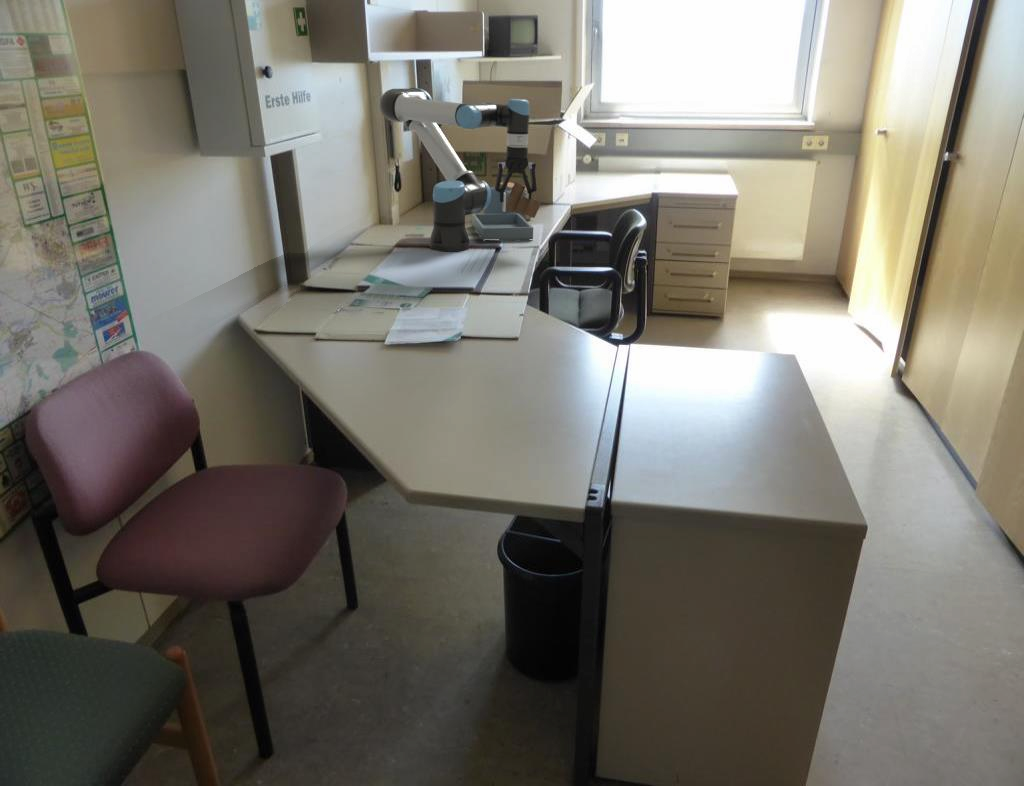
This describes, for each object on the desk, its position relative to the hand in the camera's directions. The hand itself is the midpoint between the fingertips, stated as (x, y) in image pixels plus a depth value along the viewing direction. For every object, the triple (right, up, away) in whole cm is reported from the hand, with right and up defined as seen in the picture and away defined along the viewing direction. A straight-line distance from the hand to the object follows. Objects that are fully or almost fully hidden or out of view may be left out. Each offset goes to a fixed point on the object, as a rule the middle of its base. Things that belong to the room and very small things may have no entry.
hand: (515, 210), depth 268 cm
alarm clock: (-3, +10, +55) cm, 56 cm away
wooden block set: (+2, -1, +1) cm, 2 cm away
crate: (-5, -2, +30) cm, 30 cm away
